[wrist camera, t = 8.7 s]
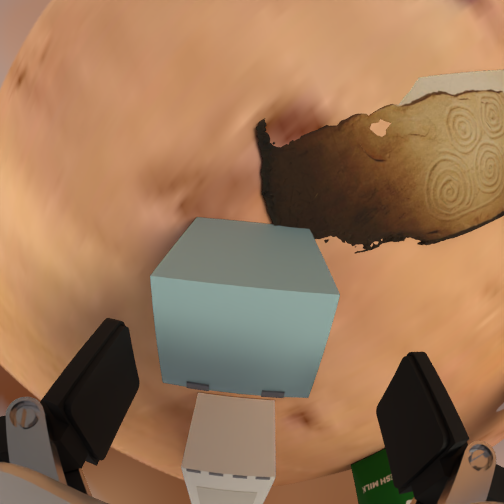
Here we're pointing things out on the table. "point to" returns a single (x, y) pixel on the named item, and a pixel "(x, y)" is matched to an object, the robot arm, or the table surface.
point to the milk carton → (377, 481)
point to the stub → (243, 308)
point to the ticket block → (230, 450)
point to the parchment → (397, 167)
